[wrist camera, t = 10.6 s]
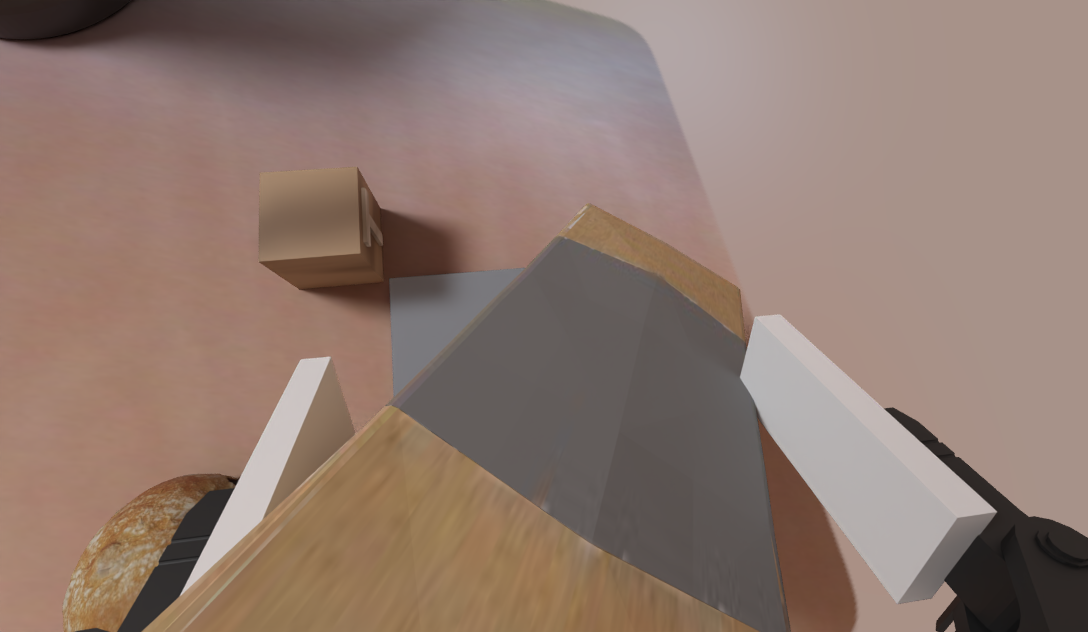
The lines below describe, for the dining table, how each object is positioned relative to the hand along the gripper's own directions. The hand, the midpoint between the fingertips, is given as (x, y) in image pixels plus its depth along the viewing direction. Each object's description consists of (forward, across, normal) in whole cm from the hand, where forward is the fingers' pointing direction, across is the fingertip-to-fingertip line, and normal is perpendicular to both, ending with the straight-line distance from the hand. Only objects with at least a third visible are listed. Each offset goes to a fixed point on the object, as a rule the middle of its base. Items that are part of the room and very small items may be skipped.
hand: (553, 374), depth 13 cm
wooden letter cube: (+18, -11, -3) cm, 21 cm away
